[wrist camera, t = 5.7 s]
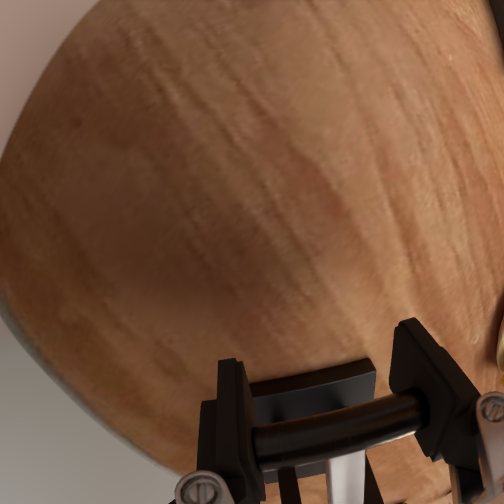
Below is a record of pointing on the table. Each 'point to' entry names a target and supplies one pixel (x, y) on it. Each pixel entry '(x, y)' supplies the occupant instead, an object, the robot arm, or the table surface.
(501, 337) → the toy food set
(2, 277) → the table surface
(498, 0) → the control block
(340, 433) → the lever
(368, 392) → the bracket
